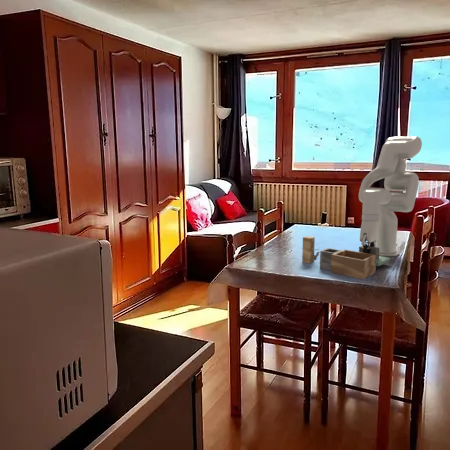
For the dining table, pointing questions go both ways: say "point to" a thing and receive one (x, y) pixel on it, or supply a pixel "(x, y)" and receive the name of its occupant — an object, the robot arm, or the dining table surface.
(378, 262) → the lid
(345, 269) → the toolbox
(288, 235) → the dining table surface
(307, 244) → the tan wooden block
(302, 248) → the hacksaw
